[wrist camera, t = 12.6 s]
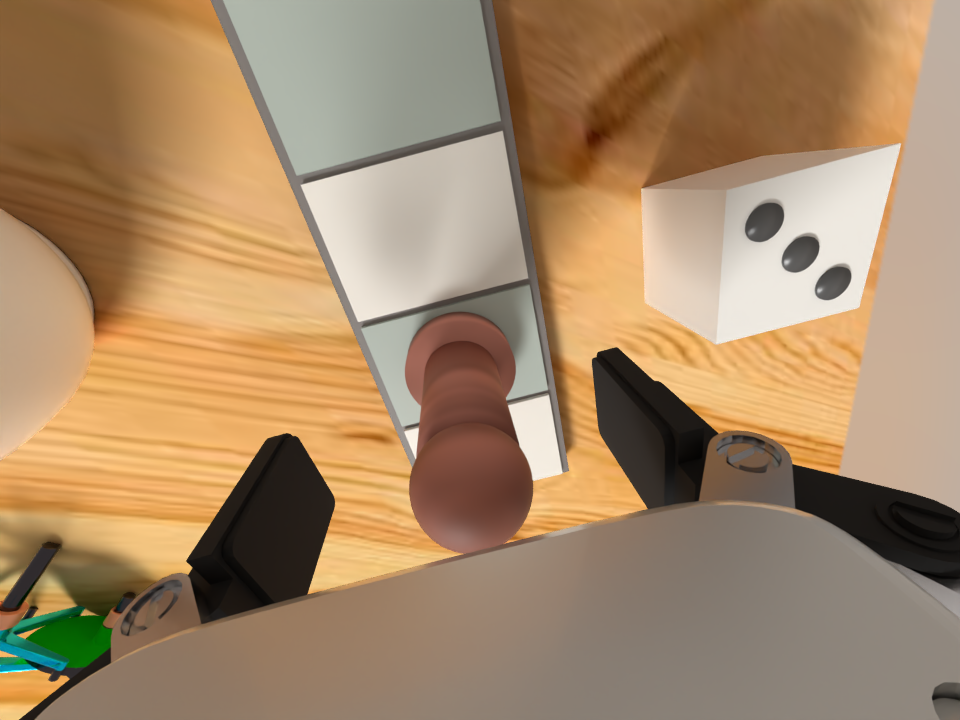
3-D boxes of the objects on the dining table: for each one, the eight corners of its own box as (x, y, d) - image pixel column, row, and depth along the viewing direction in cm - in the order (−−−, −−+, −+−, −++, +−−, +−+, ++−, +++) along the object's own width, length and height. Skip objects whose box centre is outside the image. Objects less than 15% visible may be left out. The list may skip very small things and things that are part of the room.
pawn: (392, 327, 15) (333, 490, 7) (499, 299, 15) (565, 433, 7) (425, 414, 17) (409, 618, 9) (519, 391, 17) (587, 576, 9)
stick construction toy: (-127, 632, 19) (-272, 781, 13) (-29, 501, 20) (-116, 577, 14) (152, 631, 26) (143, 725, 20) (208, 535, 27) (215, 594, 22)
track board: (87, -323, 8) (35, -397, 7) (414, -422, 8) (409, -513, 7) (429, 491, 21) (428, 508, 20) (563, 458, 21) (570, 473, 20)
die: (640, 188, 15) (729, 190, 10) (760, 155, 15) (905, 142, 10) (644, 302, 17) (718, 345, 12) (748, 274, 17) (862, 308, 12)
